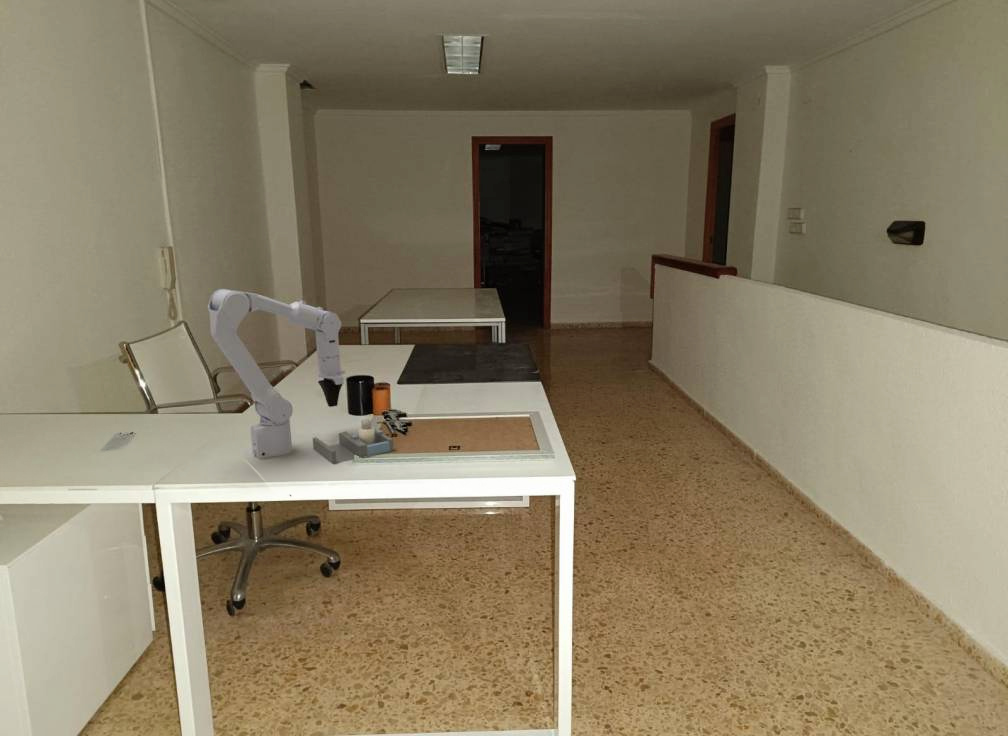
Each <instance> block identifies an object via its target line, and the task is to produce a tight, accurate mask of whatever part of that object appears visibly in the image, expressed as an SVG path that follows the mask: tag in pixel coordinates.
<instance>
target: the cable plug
mask: <svg viewBox="0 0 1008 736" xmlns="http://www.w3.org/2000/svg"><path fill="white" fill-rule="evenodd" d="M360 422H361V423H360V425H361V426H360V427H359V428H358V437H359V440H360V441H362V442H363V443H365V444H366V445H371V444H375V431H374V429H375V426H372V421H371V419H362V420H360Z"/></svg>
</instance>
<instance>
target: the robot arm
mask: <svg viewBox="0 0 1008 736" xmlns="http://www.w3.org/2000/svg"><path fill="white" fill-rule="evenodd" d="M207 310H208V312H209V323H210V325H209V326H210V327H209V328H210V335H211V337H212V339H213V340H214V341H215V343H216V345H217V346H218V348H219V349H220V350H221V352H222V353H223V355H224V356H225V357H226V359H227V360H228V362H229V364H230V365H231V366H232V367H233V369H234V371H236V373H237V375H238V377H239V378H240V379H241V381H242V382H243V383H244V386H245V387H246V388H247V389H248V391H249V392H250V394H251V395H250V398H251V399H252V401H253V404H254V409H255V412H256V414H258V415H259V417H260V418H259V423H258V424H255V425H251V427H250V437H251V446H252V447H251V448H252V454H253V455H254V456H255V457H256V458H257V459H258V460H262V459H266V458H271V457H272V458H273V457H281V456H284V455H288V454H290V453H292V452H293V443H292V442H293V441H292V431H291V421H290V420H291V417H292V415H293V411H294V410H293V406H292V405H293V404H292V403H291V402H290V401H289V400H288V399H286V398H284V397H282V395H281V394H280V392H279V391H278V390H277V389H275V388H274V386H273V385H272V384H271V383H270V381H269V380H268V378H267V377H266V375H265V374H264V373H263V371H262V370H261V368H260V367H259V365H258V363H257V362H256V360H255V359H254V358H253V356H252V355H251V353H250V351H249V350H248V348H247V347H246V346H245V344H244V343H243V341H242V340H241V338H240V337H239V335H238V333H237V331H238V329H239V325H240V324H241V322H242V321H243V319H244V318H245V317H246V315H247V314H248V313H249V312H250V313H253V312H255V311H259V310H260V311H264V312H268V313H272V314H275V315H279V316H283V317H285V318H286V319H287V321H288V323H290V324H292V325H294V326H299V327H302V328H305V329H310V330H313V331H314V332H315V341H316V353H317V365H318V366H317V370H316V371H317V376H318V378H322V379H321V380H318V381H317V382H318V384H319V386H320V388H321V389H322V392H323V394H324V397H325V400H326V403H327V407H329V408H333V407H337V406H338V403H339V397H340V391H341V390H342V389H341V388H342V386H343V384H345V382H344V375H345V374H346V370H345V369H341V368H342V367H341V357H340V343H339V342H340V341H339V331H340V330H341V328H342V321H341V320H340V317H339V316H338V315H337V313H335V312H334V311H333V312H332V311H327V310H324V308H323V307H321V306H317V307H315V306H312V305H309V304H307V302H306V301H305V300H299V301H294V302H292V303H290V304H287V303H285V302H281V301H279V300H276V299H274V298H271V297H268V296H264V295H261V294H259V293H253V292H246V291H239V290H232V289H231V290H230V289H228V288H221V289H217V290H216V291H213V293H212V294H211V296H210V299H209V302H208V305H207Z"/></svg>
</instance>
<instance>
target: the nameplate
mask: <svg viewBox="0 0 1008 736" xmlns="http://www.w3.org/2000/svg"><path fill="white" fill-rule="evenodd" d="M389 409H390V410H389V411H384V412H382V411H381V416H383V420H385V421H378V422H376V424H383V425H385V426H386V428H387V429H388V431H389V433H390V434H391V435H395V434H396V432H398V433H400V434H402V435H404V436H406V435H407V433H408V432H409V430H408V429H409V428H408V427H412V426H413V422H412V421H406V420H400V418H407V412H406V411H402V410H399V409H396V408H395V409H394V408H389Z"/></svg>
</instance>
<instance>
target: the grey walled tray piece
mask: <svg viewBox="0 0 1008 736" xmlns="http://www.w3.org/2000/svg"><path fill="white" fill-rule="evenodd" d="M374 431H375V444H371V445H366V444H365V443H363V442H362V441H360V440H359V435H358V434H351V433H349V432H348V431H342V432H338V440H339V443H337V444H332V445H328V444H327V443H325V442H323V440H321V439H319V438H318V437H312V446H313V448H312V449H313V450H314V451H315V452H317V454H319V455H320V456H322V457H323V459H325V460H327V461H328V462H329V463H331V464H332V465H335V464H338V463H344V462H348V461H353V460H355V459H354V455H357V456H359V457H363V458H365V457H364V456H367V457H371V456H370V455H372V456H376V455H380V454H385V453H390V452H393V451H394V439H393V438H391V437H390V436H388V435H386V434H384V431H383V430H381V429H376V428H374Z"/></svg>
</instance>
